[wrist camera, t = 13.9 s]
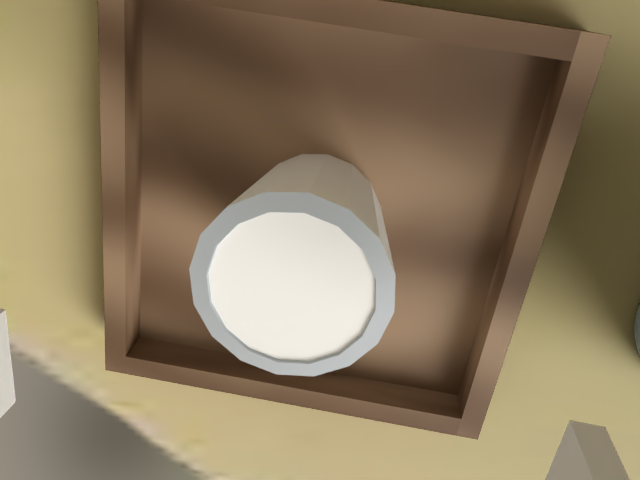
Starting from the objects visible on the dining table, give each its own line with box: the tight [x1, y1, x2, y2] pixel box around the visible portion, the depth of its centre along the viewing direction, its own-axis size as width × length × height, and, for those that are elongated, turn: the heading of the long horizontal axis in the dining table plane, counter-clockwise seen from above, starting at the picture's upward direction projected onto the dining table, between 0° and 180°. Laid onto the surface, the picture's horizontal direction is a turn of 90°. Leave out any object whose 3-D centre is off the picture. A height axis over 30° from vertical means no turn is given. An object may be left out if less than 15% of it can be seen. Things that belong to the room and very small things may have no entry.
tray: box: [98, 0, 611, 440], centre depth 24 cm, size 18×18×2 cm
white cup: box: [189, 154, 396, 376], centre depth 22 cm, size 7×7×7 cm
